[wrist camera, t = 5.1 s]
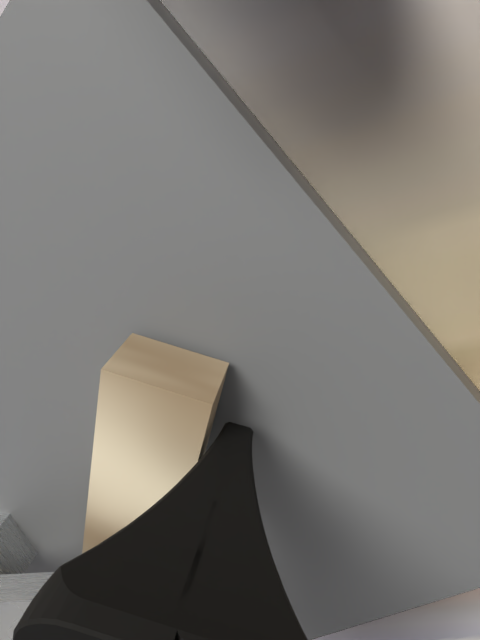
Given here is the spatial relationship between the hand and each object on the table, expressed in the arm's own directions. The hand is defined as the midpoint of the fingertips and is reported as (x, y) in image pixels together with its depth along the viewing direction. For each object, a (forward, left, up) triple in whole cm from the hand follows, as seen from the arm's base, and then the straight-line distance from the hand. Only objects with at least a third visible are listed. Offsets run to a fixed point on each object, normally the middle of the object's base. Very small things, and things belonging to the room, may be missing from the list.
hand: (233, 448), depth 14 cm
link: (-6, -1, -1) cm, 6 cm away
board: (-5, +1, -2) cm, 5 cm away
